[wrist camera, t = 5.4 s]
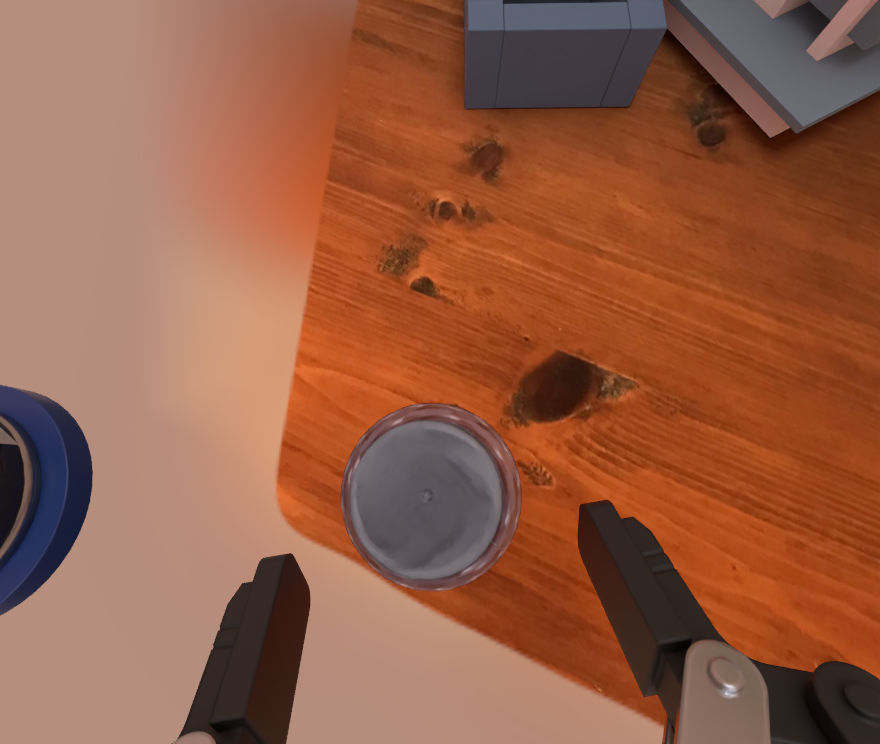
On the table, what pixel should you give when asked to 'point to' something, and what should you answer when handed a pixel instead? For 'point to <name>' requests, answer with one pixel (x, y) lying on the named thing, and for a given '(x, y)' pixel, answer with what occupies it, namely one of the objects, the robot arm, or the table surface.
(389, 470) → the supplement bottle
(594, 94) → the stand
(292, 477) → the table surface
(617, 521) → the robot arm
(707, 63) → the desk lamp
